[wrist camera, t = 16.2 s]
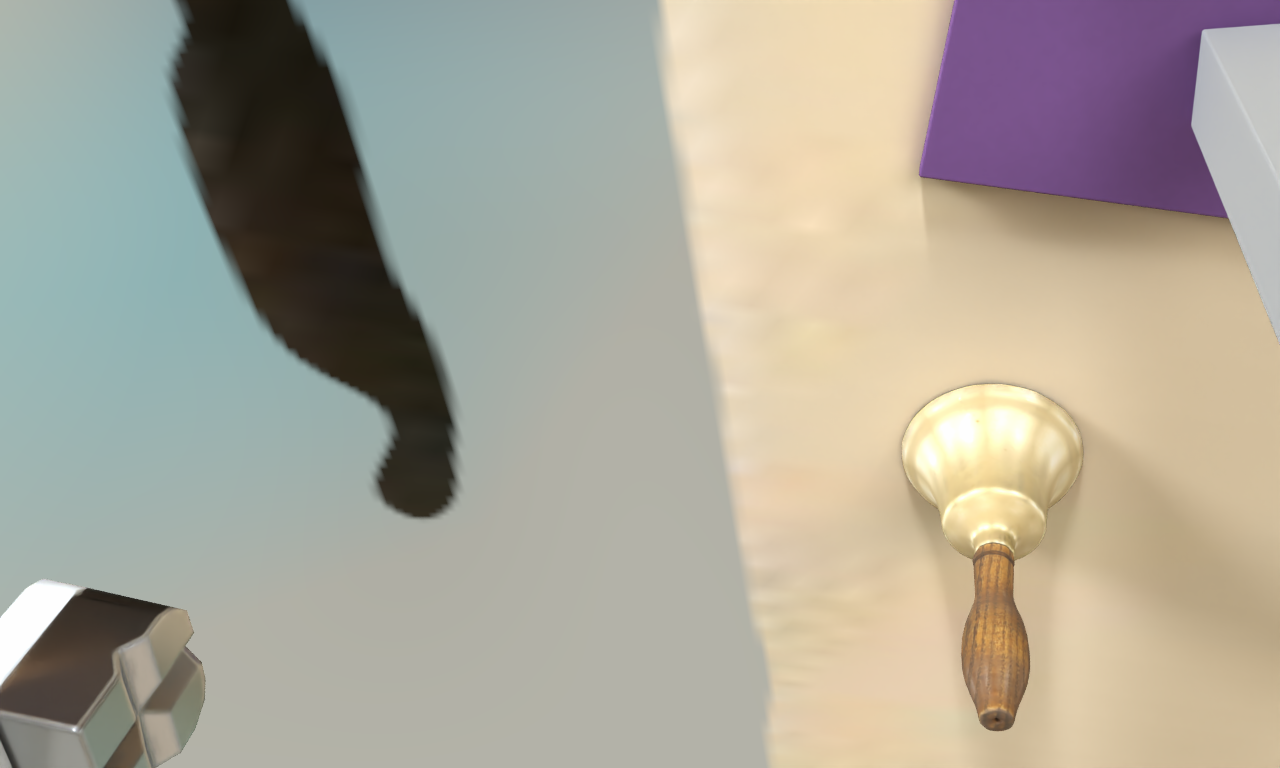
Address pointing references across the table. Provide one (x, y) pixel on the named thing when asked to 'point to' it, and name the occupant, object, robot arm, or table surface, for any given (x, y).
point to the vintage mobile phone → (1245, 143)
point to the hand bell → (993, 514)
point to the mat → (1079, 98)
